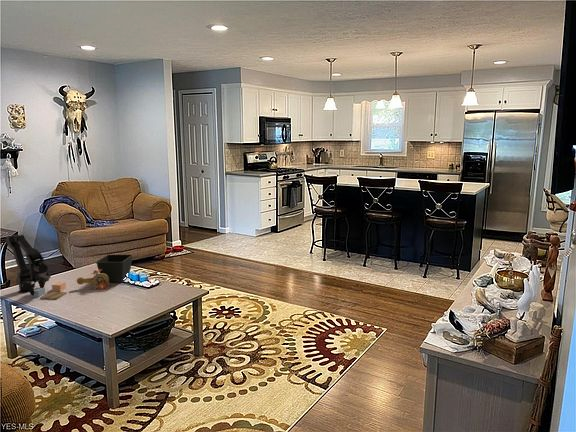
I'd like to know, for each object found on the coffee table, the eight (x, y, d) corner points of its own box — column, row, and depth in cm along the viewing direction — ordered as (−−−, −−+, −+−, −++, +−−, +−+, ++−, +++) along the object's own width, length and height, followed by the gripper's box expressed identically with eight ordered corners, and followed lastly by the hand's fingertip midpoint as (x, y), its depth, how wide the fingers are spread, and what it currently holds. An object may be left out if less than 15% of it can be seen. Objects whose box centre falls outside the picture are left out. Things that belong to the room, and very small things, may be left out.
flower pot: (97, 284, 305) (95, 261, 302) (109, 275, 323) (107, 254, 320) (123, 284, 304) (122, 262, 301) (134, 276, 323) (132, 254, 320)
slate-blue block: (30, 297, 281) (29, 290, 280) (36, 294, 286) (36, 287, 286) (39, 297, 280) (38, 291, 279) (45, 294, 286) (44, 288, 285)
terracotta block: (52, 291, 291) (51, 285, 291) (57, 288, 297) (57, 282, 297) (60, 291, 291) (60, 285, 290) (66, 288, 297) (65, 282, 296)
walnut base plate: (40, 299, 277) (40, 297, 277) (51, 292, 288) (51, 291, 288) (56, 299, 276) (56, 298, 276) (66, 293, 287) (66, 292, 287)
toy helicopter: (107, 289, 294) (106, 270, 291) (75, 291, 291) (73, 271, 289) (110, 285, 302) (109, 267, 299) (79, 287, 299) (78, 268, 297)
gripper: (37, 275, 270) (39, 298, 273) (55, 266, 288) (58, 288, 291) (20, 274, 271) (23, 298, 274) (40, 265, 289) (42, 288, 292)
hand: (37, 293), depth 283 cm, fingers open, 9 cm apart
